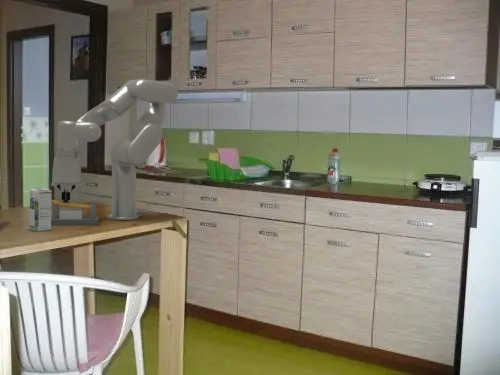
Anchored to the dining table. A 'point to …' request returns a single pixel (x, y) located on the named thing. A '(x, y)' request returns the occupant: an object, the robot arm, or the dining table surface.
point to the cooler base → (74, 216)
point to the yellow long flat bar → (71, 204)
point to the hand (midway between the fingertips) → (65, 202)
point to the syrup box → (40, 209)
